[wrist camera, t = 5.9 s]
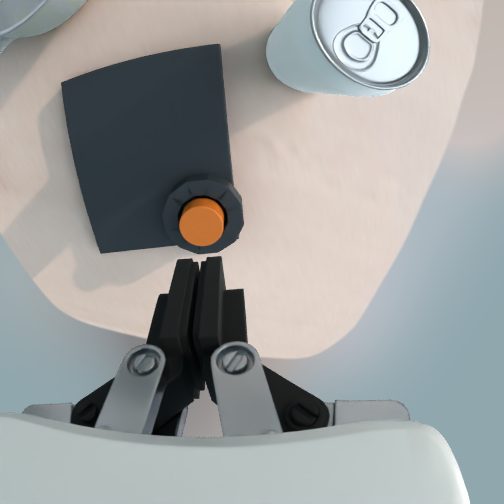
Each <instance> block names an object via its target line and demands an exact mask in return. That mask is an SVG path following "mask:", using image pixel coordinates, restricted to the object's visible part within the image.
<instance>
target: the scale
mask: <svg viewBox="0 0 504 504" xmlns="http://www.w3.org/2000/svg"><path fill="white" fill-rule="evenodd" d="M61 86H62V94H63V102H64V109H65V115H66V121H67V127H68V133H69V138H70V143H71V148H72V153H73V158H74V162H75V167H76V171H77V175H78V179H79V183H80V187H81V191H82V195H83V199H84V202H85V206H86V209H87V213H88V216H89V219H90V223H91V226H92V229H93V232H94V235H95V238H96V241H97V244H98V247H99V250H100V253H101V254H102V253H110V252H119V251H128V250H137V249H146V248H156V247H165V246H175V245H178V246H179V247H180V248H183V249H185V250H188V251H191V252H193V253H196V254H207V253H218V252H220V251H221V250H223V249H224V248H226V247H227V246H229V245H231V244H232V243H234V242H235V241H236V239H239V233H240V231H241V229H242V227H243V225H244V219H243V209H242V198H241V196H240V194H239V193H238V192H237V190H236V189H235V188H234V185H233V175H232V165H231V155H230V145H229V135H228V124H227V114H226V103H225V92H224V81H223V70H222V59H221V47H220V44H213V45H205V46H198V47H191V48H185V49H179V50H173V51H168V52H163V53H158V54H153V55H149V56H144V57H140V58H136V59H132V60H128V61H125V62H121V63H117V64H114V65H110V66H107V67H104V68H101V69H98V70H95V71H92V72H89V73H86V74H83V75H80V76H77V77H74V78H72V79H69V80H67V81H64V82H62V83H61ZM197 198H208V199H211V200H213V201H215V202H216V203H217V204H218V205H219V206H220V207H221V208H222V210H223V214H224V228H223V233H222V235H221V237H220V238H219V239H218V240H217V241H216V242H215V243H213V244H211V245H208V246H196V245H193V244H191V243H189V242H188V241H186V240H185V239H184V237H183V236H182V234H181V232H180V229H179V222H180V218H181V216H182V213H183V210H184V208H185V206H186V205H187V204H188V203H189V202H191V201H192V200H194V199H197Z"/></svg>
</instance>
